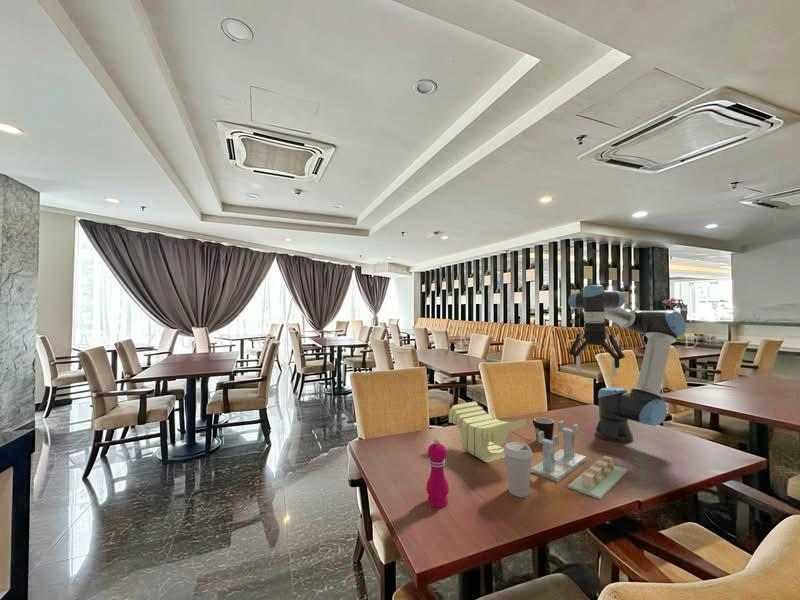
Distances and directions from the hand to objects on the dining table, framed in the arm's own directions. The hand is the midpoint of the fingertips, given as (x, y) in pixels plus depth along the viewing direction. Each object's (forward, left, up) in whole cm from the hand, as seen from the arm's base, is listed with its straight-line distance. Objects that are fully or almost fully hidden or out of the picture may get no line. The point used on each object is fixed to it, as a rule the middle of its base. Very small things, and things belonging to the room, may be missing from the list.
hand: (596, 373), depth 137 cm
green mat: (+18, +6, -35) cm, 40 cm away
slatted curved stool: (+30, -34, -35) cm, 57 cm away
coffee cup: (+47, -9, -35) cm, 59 cm away
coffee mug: (-2, -24, -35) cm, 42 cm away
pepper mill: (+72, -23, -35) cm, 83 cm away
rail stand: (+18, -8, -35) cm, 40 cm away
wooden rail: (+18, +6, -34) cm, 39 cm away
